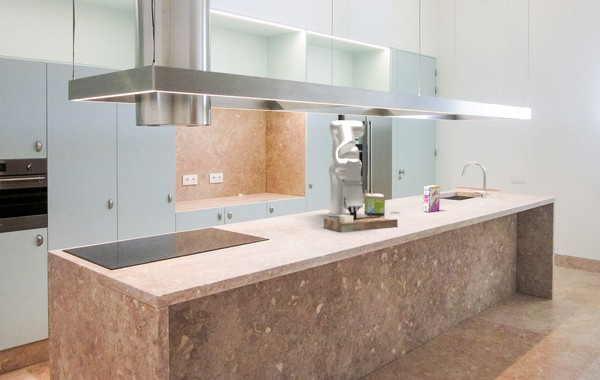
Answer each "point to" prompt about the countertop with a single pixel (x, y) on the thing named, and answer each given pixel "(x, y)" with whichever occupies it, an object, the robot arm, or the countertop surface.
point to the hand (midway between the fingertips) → (353, 219)
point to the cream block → (346, 219)
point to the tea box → (374, 205)
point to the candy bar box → (431, 198)
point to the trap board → (360, 224)
